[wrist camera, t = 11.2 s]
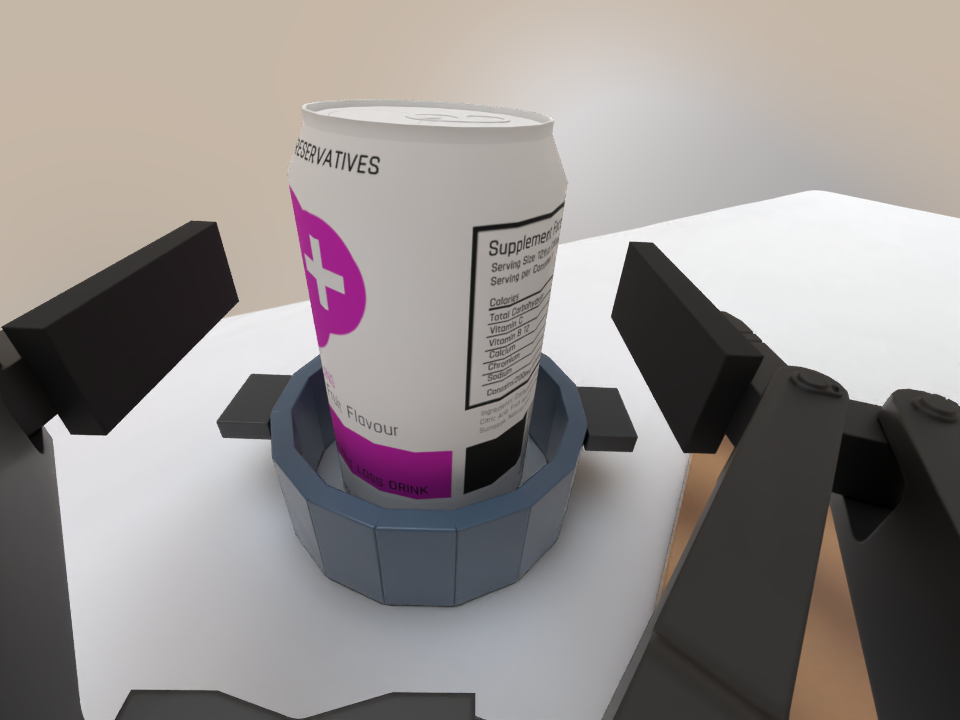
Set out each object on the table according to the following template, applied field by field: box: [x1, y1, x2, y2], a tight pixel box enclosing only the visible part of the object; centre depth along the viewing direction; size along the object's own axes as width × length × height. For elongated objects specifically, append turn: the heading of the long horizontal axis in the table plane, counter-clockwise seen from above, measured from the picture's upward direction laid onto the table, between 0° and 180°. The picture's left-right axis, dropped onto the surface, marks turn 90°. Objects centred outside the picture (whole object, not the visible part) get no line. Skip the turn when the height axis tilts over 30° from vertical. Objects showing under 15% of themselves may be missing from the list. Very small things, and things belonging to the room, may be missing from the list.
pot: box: [217, 353, 638, 606], centre depth 20 cm, size 13×17×4 cm
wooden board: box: [653, 434, 878, 720], centre depth 15 cm, size 20×15×1 cm
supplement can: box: [287, 100, 568, 510], centre depth 17 cm, size 8×8×15 cm
